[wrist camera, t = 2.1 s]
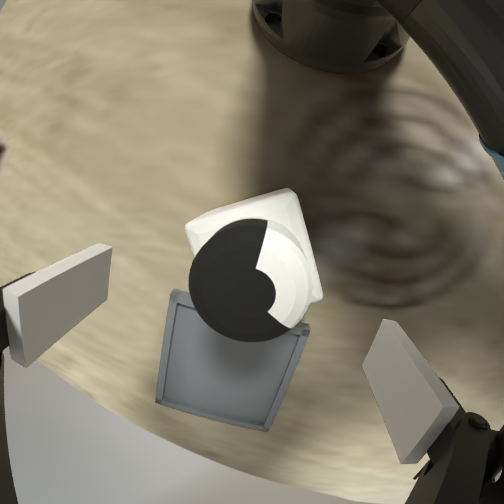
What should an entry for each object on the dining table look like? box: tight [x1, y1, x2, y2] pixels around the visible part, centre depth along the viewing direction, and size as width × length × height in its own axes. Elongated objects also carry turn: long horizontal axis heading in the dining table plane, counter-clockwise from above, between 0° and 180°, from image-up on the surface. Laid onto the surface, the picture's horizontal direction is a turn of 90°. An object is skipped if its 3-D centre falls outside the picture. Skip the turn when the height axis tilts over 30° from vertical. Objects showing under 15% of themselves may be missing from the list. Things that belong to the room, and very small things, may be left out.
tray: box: [155, 289, 310, 432], centre depth 31 cm, size 14×14×1 cm
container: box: [185, 188, 323, 342], centre depth 22 cm, size 8×8×13 cm
